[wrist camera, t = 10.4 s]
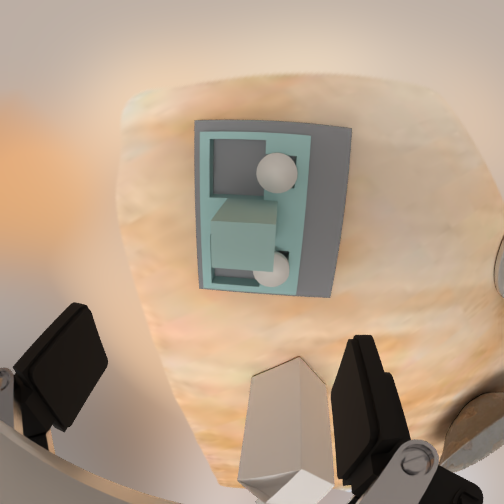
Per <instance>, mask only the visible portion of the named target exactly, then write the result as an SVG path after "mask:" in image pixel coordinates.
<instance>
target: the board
mask: <svg viewBox="0 0 504 504" xmlns="http://www.w3.org/2000/svg"><path fill="white" fill-rule="evenodd" d="M200 132H265V133H284V134H297V135H309V136H311V144H310V159H309V173H308V186H307V198H306V209H305V220H304V230H303V240H302V249H301V258H300V267H299V275H298V284H297V291H296V295H288V296H304V297H323V298H330V296H331V291H332V285H333V280H334V274H335V269H336V263H337V257H338V251H339V244H340V238H341V231H342V224H343V216H344V209H345V201H346V192H347V183H348V173H349V162H350V151H351V137H352V128H345V127H338V126H329V125H320V124H310V123H298V122H284V121H264V120H196V121H195V211H196V238H197V258H198V275H199V289H210V288H203V269H202V247H201V217H200ZM295 159H296V156H289V155H285V154H283V153H271V154H266V140H249V139H214V146H213V194H232V195H253V196H264V189H265V190H267V191H269V192H271V193H283V192H286V191H288V190H289V189H291V188H292V187H293V185H294V184H295V182H296V180H297V167H296V165H295ZM288 252H289V251H276V250H275V251H274V265H273V272H265V271H251V270H238V269H225V268H214V269H215V276H222V277H235V278H248V279H256V280H257V281H258V282H259V283H260V284H261V285H264V286H267V287H276V286H279V285H281V284H283V283H284V282H285V281H286V280H287V278H288V276H289V262H288ZM210 290H221V289H210ZM221 291H233V290H221ZM233 292H245V291H233ZM245 293H258V292H245ZM258 294H271V293H258ZM272 295H286V294H272Z"/></svg>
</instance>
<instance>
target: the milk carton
mask: <svg viewBox="0 0 504 504" xmlns="http://www.w3.org/2000/svg"><path fill="white" fill-rule="evenodd" d="M237 481H238V482H239V483H240V484H242V485H243V486H244V487H245V488H246V489H248V490H249V491H250V492H251V493H252V494H253V495H255V496H256V497H257V498H258V499H257V500H256V504H317V503H318V502H319V501H320V500H321V499H322V498H323V497H324V496H325V495H326V494H327V493H328V492H329V491H330V490H331V489H332V488H333V487H334V486H335V485H334V469H333V454H332V442H331V430H330V419H329V409H328V400H327V391H326V385H325V384H324V383H323V382H322V381H321V380H320V378H319V377H318V376H317V375H316V374H315V373H314V372H313V371H312V370H311V369H310V367H309V366H308V365H307V364H306V363H305V362H304V361H303V360H302V359H301V358H300V357H298V358H295V359H293V360H291V361H289V362H287V363H284V364H282V365H280V366H277V367H275V368H273V369H270V370H268V371H266V372H263V373H261V374H258V375H256V376H253V377H252V379H251V387H250V394H249V402H248V409H247V416H246V423H245V431H244V438H243V445H242V451H241V458H240V465H239V472H238V480H237Z"/></svg>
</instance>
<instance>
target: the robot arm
mask: <svg viewBox="0 0 504 504" xmlns="http://www.w3.org/2000/svg"><path fill="white" fill-rule="evenodd" d="M495 285H496V289H497V291H498V293H499V294H500V295H501V296H502V297H503V298H504V239H503V242H502V244H501V246H500V249H499V253H498V256H497V260H496V265H495ZM107 365H108V359H107V356H106V353H105V351H104V348H103V345H102V343H101V340H100V337H99V334H98V331H97V328H96V325H95V322H94V319H93V316H92V313H91V311H90V310H89V309H88V307H87V305H84V304H80V303H72V304H71V305H70V306H69V307H67V308H66V310H65V311H64V312H63V313H62V314H61V315H60V316H59V317H58V318H57V319H56V320H55V321H54V322H53V323H52V324H51V325H50V326H49V327H48V328H47V329H46V330H45V331H44V332H43V334H42V335H41V336H40V337H39V338H38V339H37V340H36V341H35V342H34V343H33V344H32V346H31V347H30V348H29V349H28V350H27V351H26V352H25V353H24V355H23V356H22V357H21V358H20V359H19V360H18V362H17V363H16V364H15V365H14V366H13V369H14V370H15V372H16V373H15V375H14V374H13V373H12V371H11V370H10V369H8V368H0V504H181V503H177V502H173V501H169V500H165V499H162V498H158V497H155V496H151V495H148V494H145V493H142V492H139V491H136V490H133V489H130V488H127V487H125V486H122V485H119V484H117V483H114V482H112V481H109V480H106V479H104V478H102V477H100V476H97V475H95V474H93V473H90V472H88V471H86V470H84V469H82V468H80V467H78V466H76V465H74V464H72V463H70V462H68V461H66V460H64V459H62V458H60V457H58V456H57V455H55V450H54V445H53V441H52V435H51V429H50V428H51V426H52V425H53V426H54V427H55V428H57V429H59V430H61V431H63V432H65V431H66V429H67V427H70V426H71V425H72V423H73V422H74V420H75V418H76V417H77V415H78V413H79V412H80V410H81V408H82V407H83V405H84V403H85V402H86V400H87V398H88V396H89V395H90V393H91V391H92V390H93V388H94V387H95V385H96V384H97V382H98V380H99V379H100V377H101V375H102V374H103V372H104V371H105V369H106V368H107ZM331 404H332V414H333V425H334V436H335V449H336V463H337V476H338V479H343V486H345V485H352V493H353V494H354V495H353V497H352V498H351V499H350V500H349V501H348V502H347V504H483V494H482V491H481V489H480V488H479V487H478V486H477V485H476V484H474V483H472V482H470V481H468V480H466V479H464V478H462V477H460V476H458V475H456V474H455V473H453V472H451V471H449V470H447V469H446V468H444V467H442V466H440V465H438V464H439V456H438V454H437V451H436V449H435V448H434V447H433V446H432V445H431V444H430V443H428V442H426V441H423V440H411V438H410V434H409V430H408V427H407V423H406V419H405V416H404V412H403V409H402V406H401V402H400V399H399V396H398V392H397V389H396V386H395V383H394V380H393V377H392V375H391V374H390V373H389V372H384V370H383V366H382V363H381V360H380V357H379V354H378V351H377V348H376V345H375V342H374V339H373V337H372V336H371V335H355V336H354V338H353V339H349V340H348V342H347V345H346V348H345V352H344V355H343V358H342V361H341V364H340V367H339V370H338V373H337V376H336V379H335V382H334V385H333V388H332V391H331Z"/></svg>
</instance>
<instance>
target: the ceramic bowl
mask: <svg viewBox="0 0 504 504" xmlns="http://www.w3.org/2000/svg"><path fill="white" fill-rule="evenodd" d="M502 445H504V392H497V393H486V394H483V395H480V396H479V397H477V398H475V399H474V400H472V401H471V402H469V403H468V404H467V405H466V406H465V407H464V408H463V409H462V411H461V412H460V414H459V415H458V417H457V418H456V419H455V420H454V422H453V423H452V425H451V427H450V429H449V431H448V433H447V435H446V438H445V443H444V449H443V453H442V456H441V459H440V462H439V465H440V466H442V467H444V468H446V469H447V470H449V471H451V472H457V471H460V470H462V469H465V468H466V467H469V466H470V465H473V464H475V463H476V462H478V461H480V460H482V459H484V458H485V457H487V456H488V455H489V454H490V453H493V452H494V451H495V450H497V449H498V448H500V447H501V446H502Z"/></svg>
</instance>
